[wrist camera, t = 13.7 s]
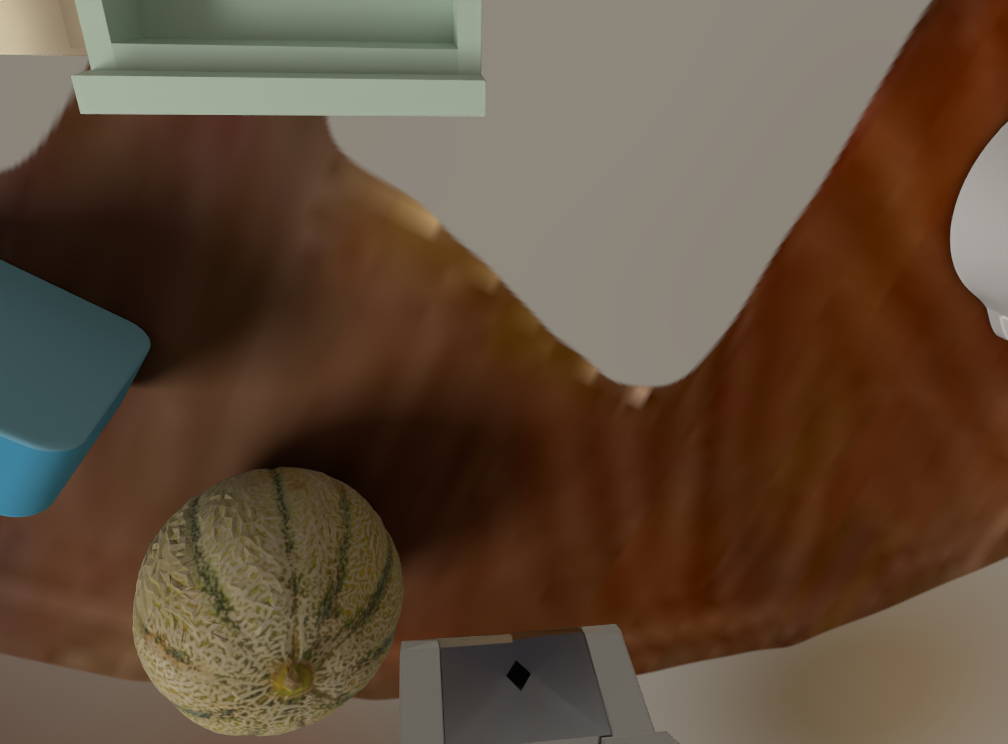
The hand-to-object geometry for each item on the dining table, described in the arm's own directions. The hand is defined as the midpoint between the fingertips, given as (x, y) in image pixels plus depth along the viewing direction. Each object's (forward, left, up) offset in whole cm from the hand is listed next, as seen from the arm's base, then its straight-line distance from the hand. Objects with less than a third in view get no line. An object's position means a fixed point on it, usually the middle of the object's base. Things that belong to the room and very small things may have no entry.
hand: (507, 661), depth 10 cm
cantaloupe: (+10, +23, -31) cm, 40 cm away
